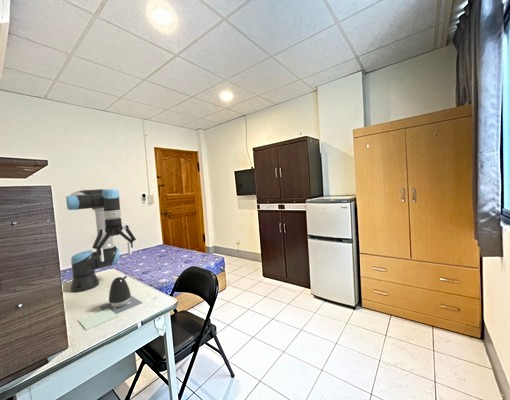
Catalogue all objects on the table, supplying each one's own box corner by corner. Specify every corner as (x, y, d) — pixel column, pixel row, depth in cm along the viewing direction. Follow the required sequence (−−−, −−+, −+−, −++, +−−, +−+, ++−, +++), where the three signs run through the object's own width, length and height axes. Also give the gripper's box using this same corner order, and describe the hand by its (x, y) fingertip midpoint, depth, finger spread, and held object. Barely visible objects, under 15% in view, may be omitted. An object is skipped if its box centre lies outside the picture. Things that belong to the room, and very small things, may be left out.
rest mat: (78, 320, 110) (78, 320, 110) (108, 308, 120) (108, 308, 120) (86, 330, 102) (86, 329, 102) (118, 316, 112) (118, 315, 112)
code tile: (99, 307, 122) (98, 307, 122) (130, 295, 135) (130, 295, 135) (109, 316, 112) (109, 316, 112) (142, 302, 125) (142, 302, 125)
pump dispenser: (136, 301, 127) (133, 274, 126) (119, 310, 117) (116, 282, 116) (122, 299, 130) (119, 273, 129) (105, 308, 120) (102, 280, 119)
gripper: (87, 222, 109) (91, 265, 110) (140, 215, 128) (143, 252, 129) (82, 221, 114) (86, 263, 115) (134, 214, 133) (137, 250, 134)
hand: (116, 257), depth 122 cm, fingers open, 13 cm apart
